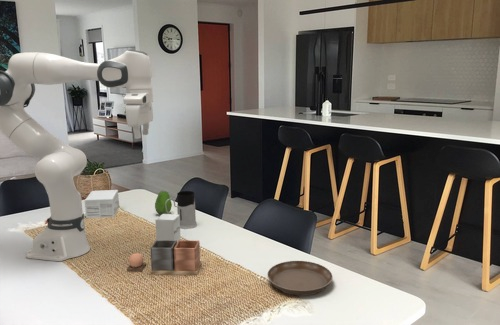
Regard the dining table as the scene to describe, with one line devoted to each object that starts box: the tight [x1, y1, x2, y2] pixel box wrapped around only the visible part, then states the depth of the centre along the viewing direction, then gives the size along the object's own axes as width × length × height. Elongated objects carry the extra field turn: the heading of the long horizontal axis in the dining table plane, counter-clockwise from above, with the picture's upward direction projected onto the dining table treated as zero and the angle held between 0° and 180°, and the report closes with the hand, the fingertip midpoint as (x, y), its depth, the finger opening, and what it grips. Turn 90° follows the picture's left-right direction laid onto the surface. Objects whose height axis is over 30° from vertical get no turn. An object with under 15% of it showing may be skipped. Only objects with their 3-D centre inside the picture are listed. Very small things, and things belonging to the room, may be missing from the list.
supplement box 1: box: [84, 189, 120, 219], centre depth 216 cm, size 17×13×9 cm
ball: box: [128, 252, 145, 268], centre depth 153 cm, size 5×5×5 cm
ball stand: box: [126, 262, 147, 273], centre depth 153 cm, size 5×5×1 cm
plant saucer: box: [267, 260, 333, 296], centre depth 142 cm, size 21×21×3 cm
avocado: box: [154, 190, 173, 216], centre depth 211 cm, size 8×8×12 cm
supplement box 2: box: [155, 213, 181, 242], centre depth 171 cm, size 7×7×13 cm
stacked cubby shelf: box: [149, 239, 202, 276], centre depth 152 cm, size 16×9×9 cm, turn 87°
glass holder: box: [165, 190, 198, 230], centre depth 194 cm, size 9×14×15 cm, turn 124°
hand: (141, 136), depth 157 cm, fingers open, 8 cm apart
